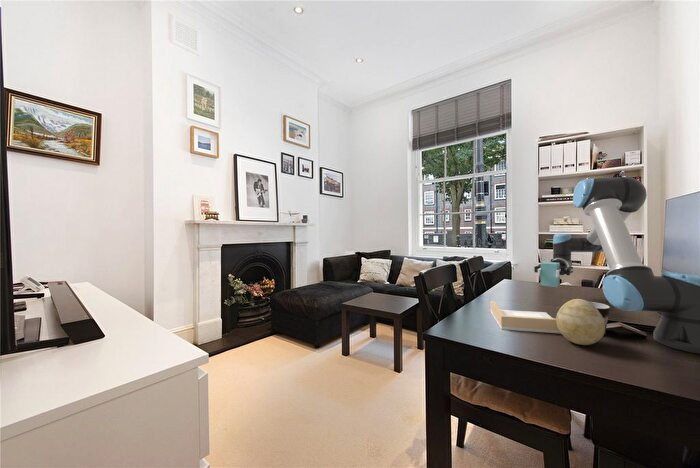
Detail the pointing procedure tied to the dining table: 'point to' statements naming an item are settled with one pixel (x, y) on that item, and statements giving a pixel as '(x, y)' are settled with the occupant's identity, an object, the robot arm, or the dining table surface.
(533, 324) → the tray
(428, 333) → the dining table surface
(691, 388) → the dining table surface
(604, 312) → the coffee mug
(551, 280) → the teal block
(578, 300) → the fossilized egg
